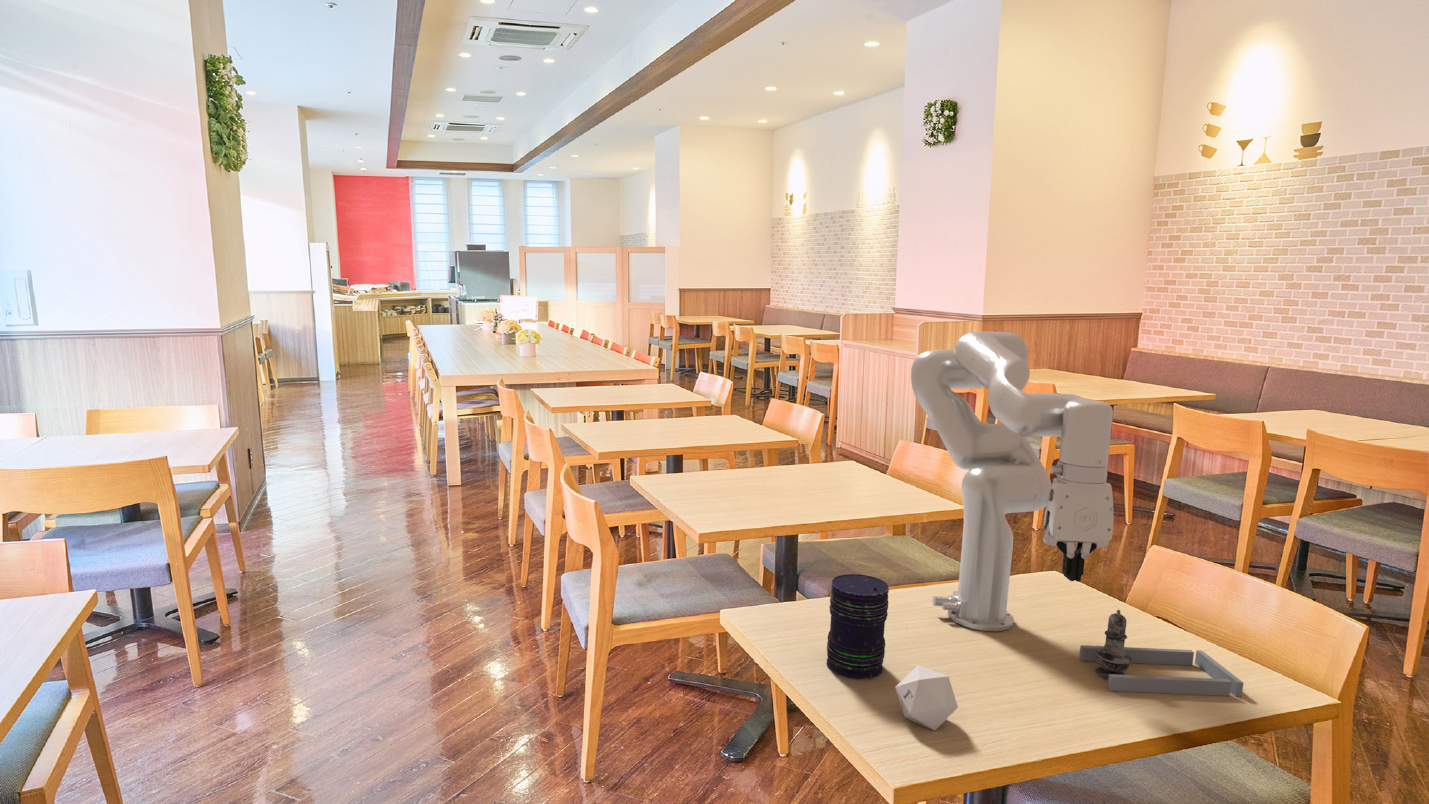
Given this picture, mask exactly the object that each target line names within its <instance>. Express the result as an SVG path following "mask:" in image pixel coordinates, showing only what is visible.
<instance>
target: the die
mask: <svg viewBox="0 0 1429 804" xmlns="http://www.w3.org/2000/svg"><path fill="white" fill-rule="evenodd" d="M895 691H896V694H897V697H898V700H899V704H900V707H901V710H902V713H903V716H904V718H905V719H906V720H907V719H908V720H910V721H912V722H914V723H917V724H919V725H920V726H923V727H925V728H928V729H931V731H932V730H933V731H936V730H937V729H938V728H939V727H941V725H943V723H944V722H945V721H947V719H948V718H949V717H950V716H951V715H953V713H954V712H955V711H956V710H957V709H958V708H959V706H958V703H957V700H956V696H955V693H954V690H953V687H952V683H951V681H950V677H949V676H948V675H946V674H943V673H941V672H938V671H935V670H933V669H930V668H927V667H925V666H923V665H920V664H918V665H916V666H915V667H914V668H913V669H912V670H911V671H910V672H909V673H908V674H907V675H906V676H905V677H904V678H903V679H902V680H901V681H900V682H899V683H897V685H895Z"/></svg>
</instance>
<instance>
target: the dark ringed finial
mask: <svg viewBox="0 0 1429 804" xmlns="http://www.w3.org/2000/svg"><path fill="white" fill-rule="evenodd" d="M1107 621H1108V623H1107V630H1105V631H1104V635H1105V643H1104V645H1103V646H1104V647H1103V648H1099V649H1097V650H1095V654H1096V659H1097V661H1096V662H1097V663H1098V665H1099V666H1098V667H1096V668H1095V669H1094V674H1095V675H1096V676H1098V677H1099V678H1100V679H1103V680H1106V681H1108V677H1109V674H1119V675H1127V674H1126V673H1125V671H1127V669H1128V668H1129V666H1130V664H1132V663H1131V662H1132V658H1131V656H1129V655H1128V654H1126V653H1125V651H1124V647H1125V643H1126V639H1128V635H1127V634H1126V631H1127V621H1128V620H1127V618H1126V617H1125V615H1122V613H1121V610H1120V609H1118V610H1116V613H1111V614H1110V615H1109V616H1108V620H1107Z"/></svg>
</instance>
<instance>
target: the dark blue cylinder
mask: <svg viewBox="0 0 1429 804" xmlns="http://www.w3.org/2000/svg"><path fill="white" fill-rule="evenodd" d="M889 589H890V587H889V584H888V583H887V582H886V581H884V580H883V579H881V578H877V577H875V576H872V575H867V574H859V573H857V574H856V573H847V574H846V573H845V574H840V575H837V576H835V577H833V578H832V580H831V590H830V595H829V597H830V598H829V602H830V604H829V613H830V626H829V629H830V630H829V631H828V635H827V642H826V643H827V644H826V652H827V653H826V656H827V658H826V666H827V668H828V669H829V671H830V672H832V673H834V674H835V675H837V676H840V677H843V678H846V679H849V680H856V681H857V680H860V681H863V680H864V681H865V680H873V679H875V678H878V677H879V676H881V675H882V673H883V670H884V668H883V663H884V659H885V654H886V653H885V651H886V650H885V649H886V639H885V627H886V625H885V624H886V622H887V621H886V620H887V619H888V614H889V613H888V609H889V591H890V590H889Z"/></svg>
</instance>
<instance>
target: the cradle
mask: <svg viewBox="0 0 1429 804" xmlns="http://www.w3.org/2000/svg"><path fill="white" fill-rule="evenodd" d="M1079 646H1080V649H1079V656H1078V657H1079V658H1078V659H1079V660H1080V661H1082V662H1097V659H1096V654H1095V650H1097V649H1099V648H1103V647H1104V645H1086V644H1083V645H1082V644H1081V645H1079ZM1124 651H1125V653H1126V654H1128V655H1129V656H1131V658H1132V662H1131V663H1130V664H1151V665H1169V666H1171V665H1172V666H1173V665H1176V666H1193V663H1194V664H1195V665H1196V666H1198V667H1199V668H1200V669H1201V670H1202V671H1204V672H1205V673H1206V674H1207V675H1209V676H1210V677H1211V678H1208V677H1190V676H1189V677H1184V676H1165V675H1164V676H1161V675H1139V674H1137V675H1135V674H1126V675H1119V674H1109V677H1108V680H1107V687H1106V688H1107V690H1109V691H1110V692H1125V693H1146V694H1147V693H1151V694H1152V693H1153V694H1170V695H1171V694H1172V695H1173V694H1174V695H1176V694H1177V695H1194V696H1195V695H1197V696H1219V697H1220V696H1221V697H1224V696H1225V697H1230V695H1231V694H1232V695H1233V696H1234V697H1240V698H1241V697H1242V695H1243V690H1244V689H1243V688H1244V682H1243V681H1242V680H1241V679H1240V678H1238V677H1237V676H1236V675H1234V674H1233V673H1232V672H1231V671H1230V670H1228V669H1226V668H1225V666H1223V665H1221V664H1220V663H1219V662H1218V661H1216V660H1215V659H1213V657H1211V656H1210V655H1208V653H1206V652H1205V651H1204V650H1200V649H1199V650H1198V649H1197V650H1195V651H1196V652H1194V651H1193V650H1191V649H1181V648H1180V649H1178V648H1177V649H1176V648H1156V647H1155V648H1151V647H1131V646H1129V647H1128V646H1124ZM1194 654H1195V655H1194ZM1194 656H1195V657H1194ZM1194 658H1195V659H1194ZM1193 661H1194V662H1193Z"/></svg>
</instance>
